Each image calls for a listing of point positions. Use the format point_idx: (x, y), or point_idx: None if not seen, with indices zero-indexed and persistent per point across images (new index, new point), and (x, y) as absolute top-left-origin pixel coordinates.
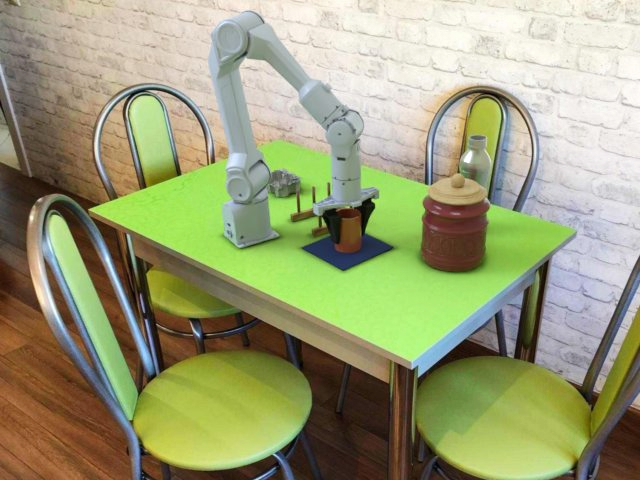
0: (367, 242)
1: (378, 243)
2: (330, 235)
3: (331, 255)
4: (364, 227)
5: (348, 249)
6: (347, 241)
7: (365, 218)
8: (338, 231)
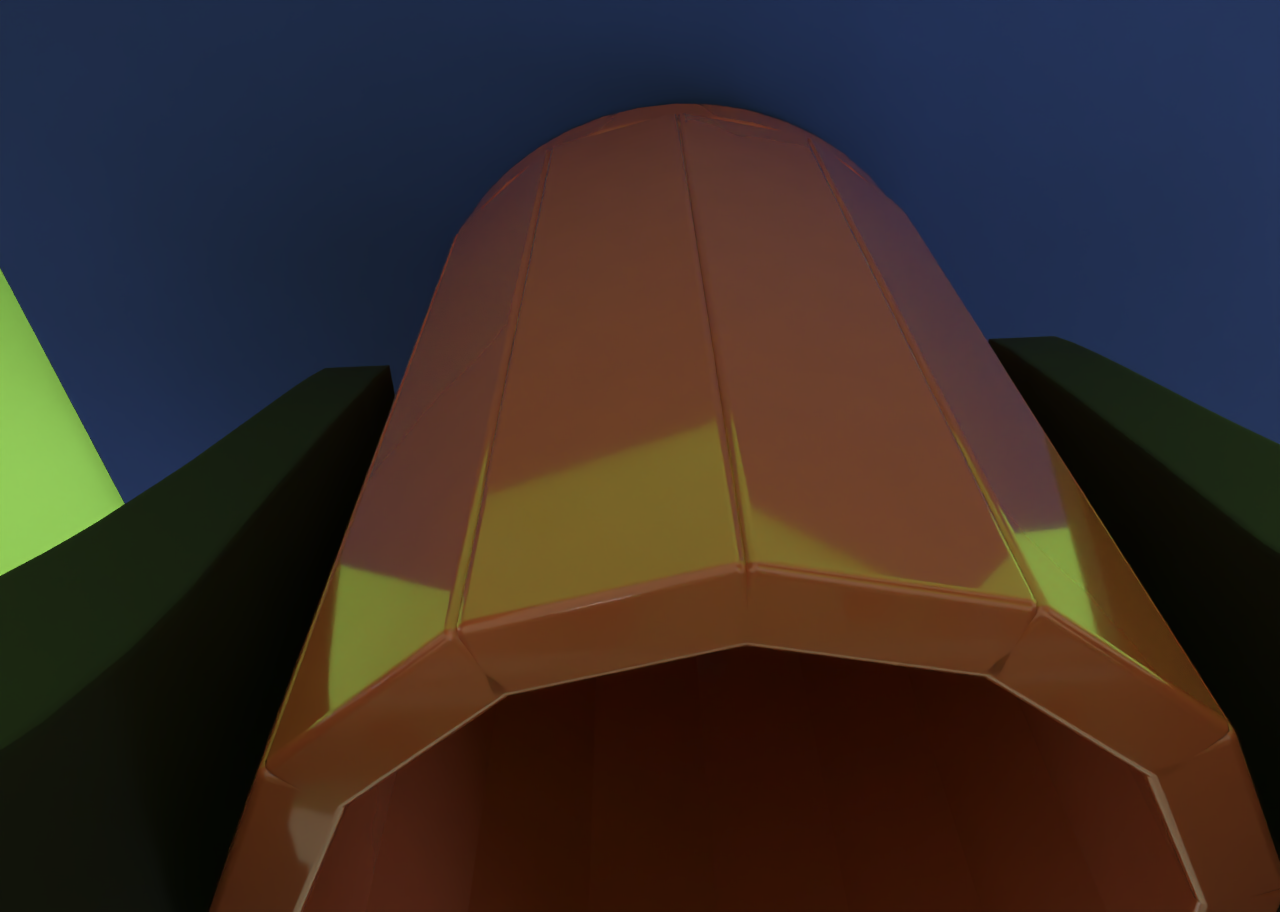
0: (272, 313)
1: (77, 160)
2: None
3: (1135, 231)
4: (267, 445)
5: (833, 159)
6: (887, 238)
7: (141, 596)
8: (1208, 467)
